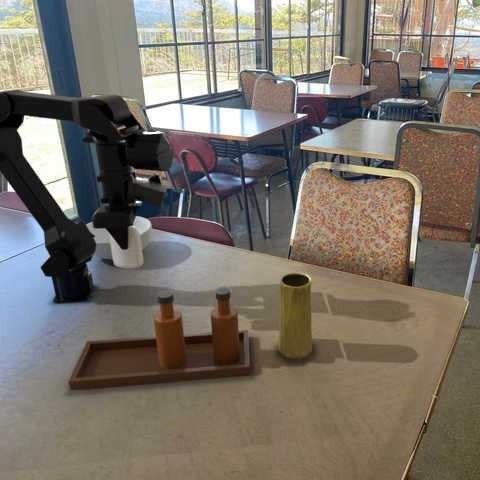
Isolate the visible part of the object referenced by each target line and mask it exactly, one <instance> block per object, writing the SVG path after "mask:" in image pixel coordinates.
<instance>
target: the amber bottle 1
mask: <svg viewBox="0 0 480 480" xmlns="http://www.w3.org/2000/svg"><path fill="white" fill-rule="evenodd" d="M156 297H157V303H158V304H159V310H157V311H156V312H154V314H153V317H152V318H153V326H154V332H155V333H154V335H155V336H156V341H157V349H158V357H159V364H160V365H161V366H162V367H164V368H168V369H172V368H177V367H179V366H181V365H183V364H184V363H185V361H186V350H185V341H184V334H185V333H184V332H185V331H184V323H183V322H184V321H183V314H182V311H181V310H180V309H178V308H175V307H174V301H175V298H174V292H173V291H172V290H162V291H159V292H158V293H156Z"/></svg>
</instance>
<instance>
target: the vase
mask: <svg viewBox="0 0 480 480" xmlns="http://www.w3.org/2000/svg"><path fill="white" fill-rule="evenodd" d="M279 284H280V285H279V286H280V290H279V331H278V351H279V353H280V354H281V355H282V356H284V357H287V358H290V359H301V358H304V357H307V356H308V355H309V354H311V352H312V351H313V343H312V336H313V335H312V302H311V301H312V300H311V297H312V296H311V290H312V279H311V276H309V275H307V274H305V273H302V272H289V273H286V274H284V275H282V276H281V278H280V279H279Z"/></svg>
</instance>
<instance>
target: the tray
mask: <svg viewBox="0 0 480 480" xmlns="http://www.w3.org/2000/svg"><path fill="white" fill-rule="evenodd" d="M184 341H185V350H186V361H185V363H184V364H183V365H181V366H179V367H177V368H172V369H168V368H164V367H162V366H161V365H160V364H159V357H158V349H157V341H156V335H155V336H143V337H129V338H128V337H127V338H114V339H100V340H87V341H86V343H85V345H84V347H83V350H82V352H81V354H80V356H79V358H78V360H77V362H76V364H75V367H74V368H73V371H72V373H71V374H70V377H69V379H68V386H69V390H70V391H71V390H82V389H84V390H85V389H94V388H95V389H96V388H105V387H106V388H107V387H119V386H129V385H141V384H155V383H166V382H178V381H190V380H202V379H211V378H212V379H213V378H225V377H236V376H237V377H238V376H247V375H251V366H250V365H251V364H250V363H251V361H250V344H249V343H250V342H249V330H248V329H245V330H244V329H240V330H239V349H240V357H239V358H238V360H237V361H235V362H233V363H230V364H220V363H218V362H216V361H215V360H214V353H213V339H212V332H199V333H184Z"/></svg>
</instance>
